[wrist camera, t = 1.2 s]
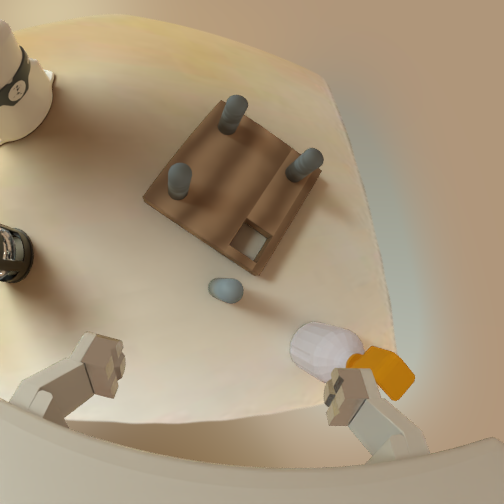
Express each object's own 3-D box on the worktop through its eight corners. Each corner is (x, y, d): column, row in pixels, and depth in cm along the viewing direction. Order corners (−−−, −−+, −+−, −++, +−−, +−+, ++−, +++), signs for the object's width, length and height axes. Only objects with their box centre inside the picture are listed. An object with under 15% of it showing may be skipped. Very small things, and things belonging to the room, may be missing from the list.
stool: (144, 201, 49) (138, 181, 38) (218, 108, 53) (230, 74, 42) (254, 275, 52) (276, 275, 42) (314, 175, 57) (344, 155, 46)
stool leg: (204, 291, 50) (214, 294, 39) (215, 274, 51) (227, 273, 40) (221, 301, 51) (235, 308, 40) (231, 285, 51) (248, 287, 41)
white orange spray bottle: (307, 378, 53) (391, 431, 30) (279, 344, 53) (358, 388, 29) (341, 346, 56) (436, 377, 32) (315, 311, 55) (410, 329, 31)
